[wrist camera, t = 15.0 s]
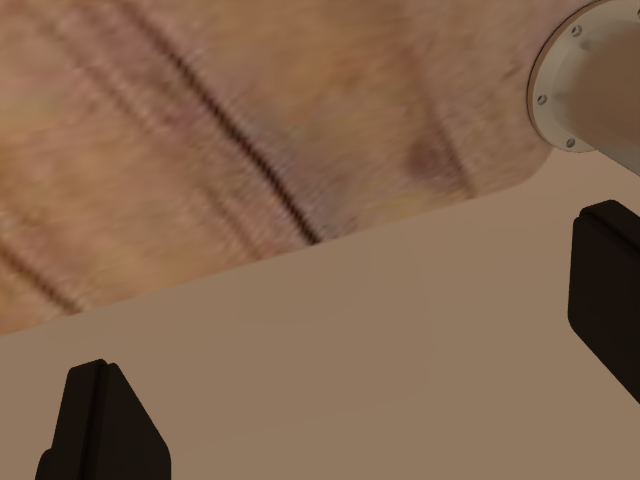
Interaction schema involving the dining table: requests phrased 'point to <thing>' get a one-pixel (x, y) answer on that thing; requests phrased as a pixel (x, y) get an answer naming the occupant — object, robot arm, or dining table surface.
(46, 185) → the dining table surface
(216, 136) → the dining table surface
